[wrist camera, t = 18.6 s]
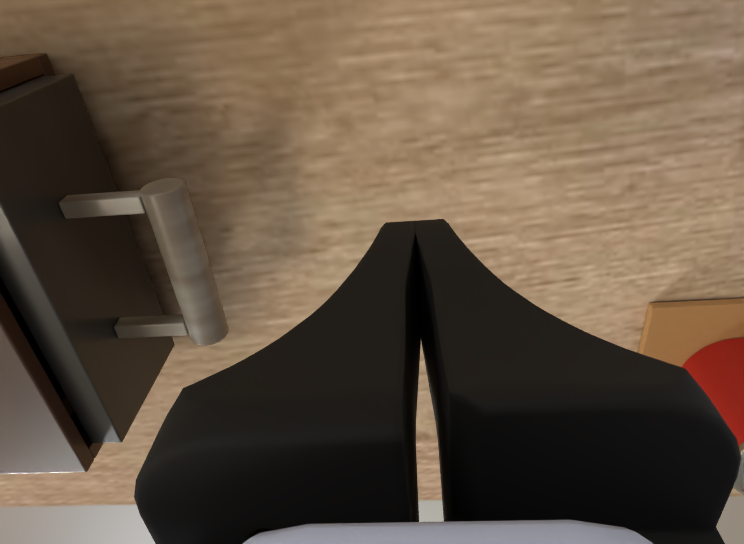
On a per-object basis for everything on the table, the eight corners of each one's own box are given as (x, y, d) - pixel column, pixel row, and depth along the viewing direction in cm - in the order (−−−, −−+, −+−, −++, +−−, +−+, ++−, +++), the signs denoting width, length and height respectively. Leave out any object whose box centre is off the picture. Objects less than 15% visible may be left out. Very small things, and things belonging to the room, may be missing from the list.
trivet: (845, 293, 23) (852, 298, 22) (784, 423, 27) (789, 429, 26) (649, 302, 23) (652, 307, 23) (620, 428, 27) (622, 434, 27)
